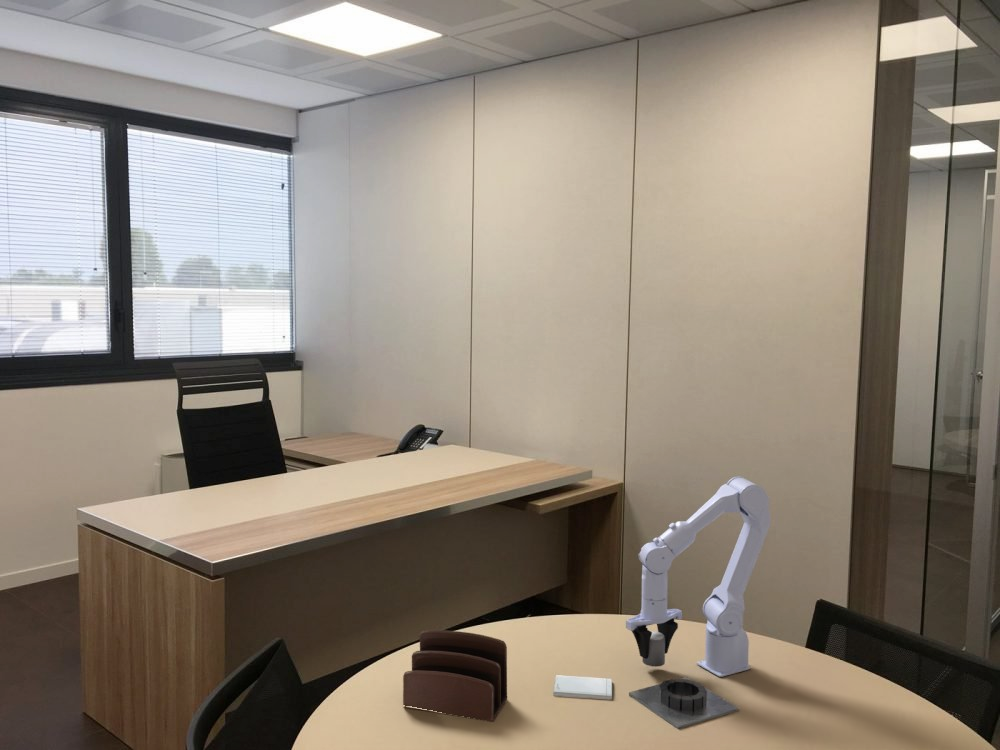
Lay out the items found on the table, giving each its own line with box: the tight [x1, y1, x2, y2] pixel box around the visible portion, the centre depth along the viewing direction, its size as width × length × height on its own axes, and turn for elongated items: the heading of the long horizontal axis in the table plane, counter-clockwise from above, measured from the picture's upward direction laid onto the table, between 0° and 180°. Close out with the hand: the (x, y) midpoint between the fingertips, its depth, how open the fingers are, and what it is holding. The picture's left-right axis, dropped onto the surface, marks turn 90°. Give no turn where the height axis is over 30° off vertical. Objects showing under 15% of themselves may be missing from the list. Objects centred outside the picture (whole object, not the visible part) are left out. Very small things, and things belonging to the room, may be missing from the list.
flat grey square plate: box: [628, 676, 740, 730], centre depth 174 cm, size 16×16×3 cm
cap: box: [642, 630, 666, 667], centre depth 189 cm, size 5×5×6 cm
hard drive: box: [552, 674, 613, 701], centre depth 180 cm, size 2×8×12 cm
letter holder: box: [402, 629, 508, 722], centre depth 173 cm, size 10×20×14 cm, turn 73°
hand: (653, 654), depth 189 cm, fingers closed on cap, 5 cm apart
